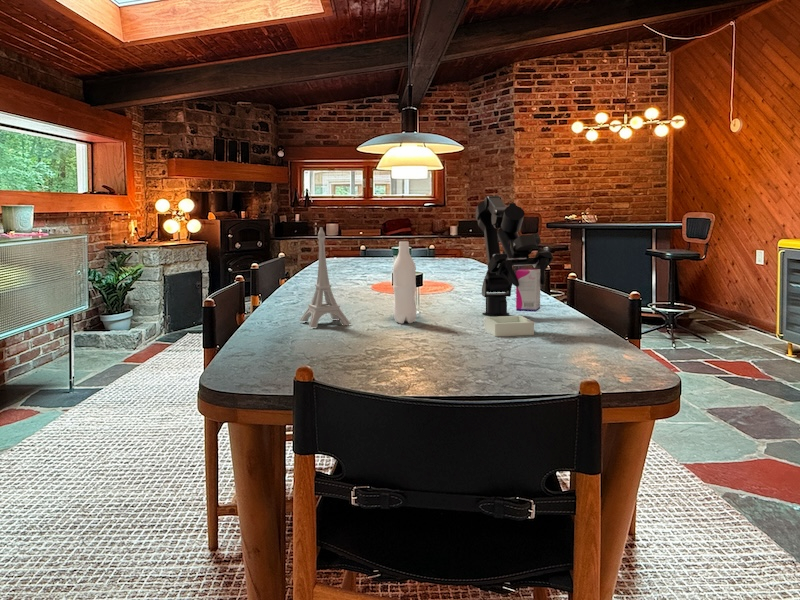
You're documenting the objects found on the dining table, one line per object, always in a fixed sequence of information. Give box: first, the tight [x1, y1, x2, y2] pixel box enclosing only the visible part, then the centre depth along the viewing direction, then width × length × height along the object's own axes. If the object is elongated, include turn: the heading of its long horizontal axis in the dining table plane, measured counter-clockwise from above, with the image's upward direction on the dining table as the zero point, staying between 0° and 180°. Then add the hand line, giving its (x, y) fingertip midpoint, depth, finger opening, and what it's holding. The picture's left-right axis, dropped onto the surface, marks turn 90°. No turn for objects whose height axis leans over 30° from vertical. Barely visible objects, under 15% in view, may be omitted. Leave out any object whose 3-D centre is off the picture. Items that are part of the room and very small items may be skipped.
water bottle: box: [392, 240, 417, 324], centre depth 196 cm, size 7×7×25 cm
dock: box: [483, 315, 535, 337], centre depth 180 cm, size 11×11×4 cm
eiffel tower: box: [299, 226, 351, 327], centre depth 195 cm, size 13×13×30 cm
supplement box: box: [515, 268, 541, 313], centre depth 179 cm, size 6×6×12 cm
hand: (531, 285), depth 177 cm, fingers closed on supplement box, 8 cm apart
